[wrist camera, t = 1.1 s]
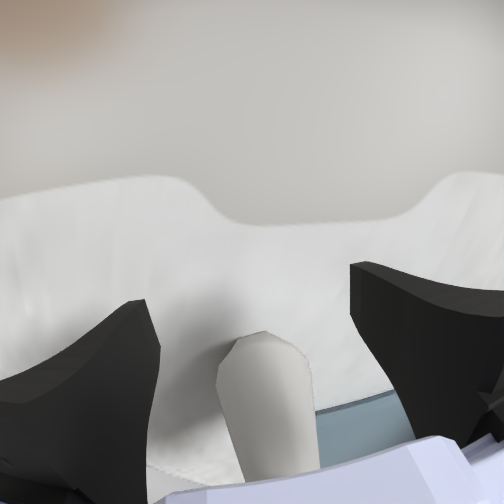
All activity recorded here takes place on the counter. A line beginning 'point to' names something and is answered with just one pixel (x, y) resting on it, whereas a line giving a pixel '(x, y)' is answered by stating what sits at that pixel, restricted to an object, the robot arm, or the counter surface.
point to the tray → (361, 428)
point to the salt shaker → (269, 407)
